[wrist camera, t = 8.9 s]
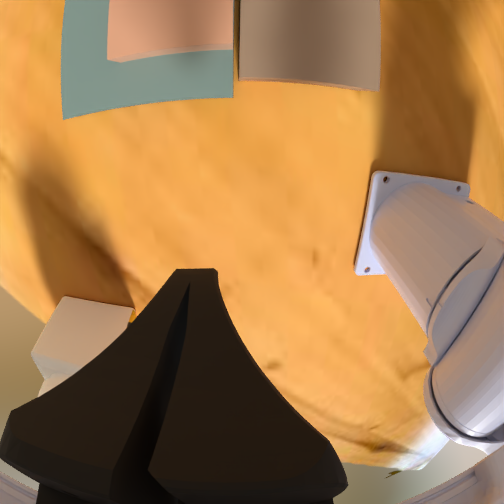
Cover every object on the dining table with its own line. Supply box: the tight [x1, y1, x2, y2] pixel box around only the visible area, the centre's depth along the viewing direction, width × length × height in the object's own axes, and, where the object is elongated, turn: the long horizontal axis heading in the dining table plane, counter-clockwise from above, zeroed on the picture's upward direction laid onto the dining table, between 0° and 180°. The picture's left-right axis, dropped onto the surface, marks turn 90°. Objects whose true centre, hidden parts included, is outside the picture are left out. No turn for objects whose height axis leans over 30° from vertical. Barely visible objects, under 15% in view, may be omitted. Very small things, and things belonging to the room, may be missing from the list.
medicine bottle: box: [31, 296, 136, 397], centre depth 18 cm, size 7×7×12 cm
